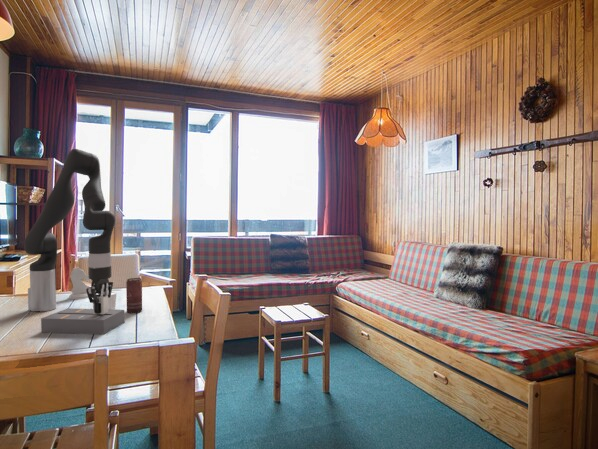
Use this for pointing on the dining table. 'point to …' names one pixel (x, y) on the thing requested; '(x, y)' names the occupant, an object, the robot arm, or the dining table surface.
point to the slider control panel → (82, 321)
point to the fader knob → (103, 305)
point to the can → (134, 295)
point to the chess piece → (78, 284)
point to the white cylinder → (112, 301)
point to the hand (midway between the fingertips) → (100, 311)
